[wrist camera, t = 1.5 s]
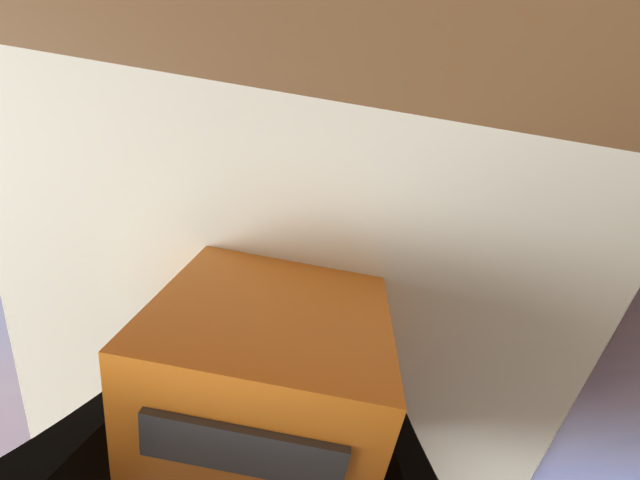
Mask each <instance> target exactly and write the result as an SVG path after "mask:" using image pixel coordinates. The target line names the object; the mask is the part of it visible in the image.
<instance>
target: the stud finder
mask: <svg viewBox="0 0 640 480" xmlns="http://www.w3.org/2000/svg"><path fill="white" fill-rule="evenodd" d="M98 355H99V365H100V376H101V386H102V396H103V406H104V416H105V426H106V436H107V447H108V457H109V467H110V477H111V480H384V478H385V475H386V472H387V469H388V466H389V463H390V460H391V457H392V454H393V451H394V448H395V445H396V442H397V439H398V436H399V433H400V430H401V427H402V424H403V421H404V418H405V415H406V412H407V407H406V401H405V396H404V390H403V384H402V379H401V373H400V367H399V361H398V356H397V350H396V344H395V339H394V333H393V327H392V322H391V316H390V310H389V305H388V299H387V293H386V288H385V282H384V278H382V277H377V276H371V275H366V274H360V273H355V272H349V271H343V270H338V269H332V268H327V267H321V266H316V265H310V264H305V263H299V262H294V261H288V260H283V259H277V258H271V257H266V256H260V255H255V254H249V253H244V252H238V251H233V250H227V249H222V248H216V247H211V246H205V247H204V248H203V249H202V250H201V251H200V252H199V253H198V254H197V255H196V256H195V257H194V258H193V259H192V260H191V261H190V262H189V263H188V264H187V265H186V266H185V267H184V268H183V269H182V270H181V271H180V272H179V273H178V274H177V275H176V276H175V277H174V278H173V279H172V280H171V281H170V282H169V283H168V284H167V285H166V286H165V287H164V288H163V289H162V290H161V291H160V292H159V293H158V294H157V295H156V296H155V297H154V298H153V299H152V300H151V301H149V302H148V303H147V304H146V305H145V306H144V307H143V308H142V309H141V310H140V311H139V312H138V313H137V314H136V315H135V316H134V317H133V318H132V319H131V320H130V321H129V322H128V323H127V324H126V325H125V326H124V327H123V328H122V329H121V330H120V331H119V332H118V333H117V334H116V335H115V336H114V337H113V338H112V339H111V340H110V341H109V342H108V343H107V344H106V345H105V346H104V347H103V348H102V349H101V350H100V351H99V352H98Z"/></svg>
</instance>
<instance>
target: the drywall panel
mask: <svg viewBox="0 0 640 480" xmlns="http://www.w3.org/2000/svg"><path fill="white" fill-rule="evenodd" d="M205 246H211V247H216V248H222V249H227V250H233V251H238V252H244V253H249V254H255V255H260V256H266V257H271V258H277V259H283V260H288V261H294V262H299V263H305V264H310V265H316V266H321V267H327V268H332V269H338V270H343V271H349V272H355V273H360V274H366V275H371V276H377V277H382V278H384V282H385V288H386V293H387V299H388V305H389V310H390V316H391V322H392V327H393V333H394V339H395V344H396V350H397V356H398V361H399V367H400V373H401V379H402V384H403V390H404V396H405V401H406V407H407V412H406V413H407V415H408V417H409V420H410V422H411V424H412V426H413V428H414V431H415V433H416V435H417V437H418V439H419V441H420V444H421V446H422V448H423V450H424V452H425V454H426V456H427V458H428V460H429V462H430V464H431V466H432V468H433V470H434V472H435V474H436V475H437V477H438V479H439V480H530V479H531V478H532V476H533V474H534V472H535V471H536V469H537V467H538V465H539V464H540V462H541V460H542V458H543V457H544V455H545V453H546V451H547V450H548V448H549V446H550V444H551V443H552V441H553V439H554V437H555V436H556V434H557V432H558V430H559V428H560V427H561V425H562V423H563V421H564V420H565V418H566V416H567V414H568V413H569V411H570V409H571V407H572V406H573V404H574V402H575V400H576V399H577V397H578V395H579V393H580V392H581V390H582V388H583V386H584V385H585V383H586V381H587V379H588V377H589V376H590V374H591V372H592V370H593V369H594V367H595V365H596V363H597V362H598V360H599V358H600V356H601V355H602V353H603V351H604V349H605V348H606V346H607V344H608V342H609V341H610V339H611V337H612V335H613V334H614V332H615V330H616V328H617V326H618V325H619V323H620V321H621V319H622V318H623V316H624V314H625V312H626V311H627V309H628V307H629V305H630V304H631V302H632V300H633V298H634V297H635V295H636V293H637V291H638V290H639V288H640V0H0V295H1V300H2V305H3V309H4V314H5V319H6V323H7V328H8V333H9V338H10V342H11V347H12V352H13V356H14V361H15V366H16V371H17V375H18V380H19V385H20V390H21V394H22V399H23V404H24V408H25V413H26V418H27V423H28V427H29V432H30V437H31V439H32V438H33V437H35V436H37V435H38V434H40V433H41V432H43V431H44V430H46V429H47V428H49V427H51V426H52V425H54V424H55V423H57V422H58V421H60V420H61V419H63V418H64V417H66V416H67V415H69V414H70V413H72V412H73V411H75V410H76V409H78V408H79V407H81V406H82V405H83V404H85V403H86V402H88V401H89V400H91V399H92V398H94V397H95V396H96V395H98V394H99V393H101V392H102V386H101V376H100V365H99V355H98V352H99V351H100V350H101V349H102V348H103V347H104V346H105V345H106V344H107V343H108V342H109V341H110V340H111V339H112V338H113V337H114V336H115V335H116V334H117V333H118V332H119V331H120V330H121V329H122V328H123V327H124V326H125V325H126V324H127V323H128V322H129V321H130V320H131V319H132V318H133V317H134V316H135V315H136V314H137V313H138V312H139V311H140V310H141V309H142V308H143V307H144V306H145V305H146V304H147V303H148V302H149V301H151V300H152V299H153V298H154V297H155V296H156V295H157V294H158V293H159V292H160V291H161V290H162V289H163V288H164V287H165V286H166V285H167V284H168V283H169V282H170V281H171V280H172V279H173V278H174V277H175V276H176V275H177V274H178V273H179V272H180V271H181V270H182V269H183V268H184V267H185V266H186V265H187V264H188V263H189V262H190V261H191V260H192V259H193V258H194V257H195V256H196V255H197V254H198V253H199V252H200V251H201V250H202V249H203V248H204V247H205Z"/></svg>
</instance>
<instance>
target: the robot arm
mask: <svg viewBox="0 0 640 480" xmlns="http://www.w3.org/2000/svg"><path fill="white" fill-rule="evenodd" d="M0 480H111V477H110V467H109V457H108V447H107V436H106V426H105V416H104V406H103V396H102V392H101V393H99V394H98V395H96V396H95V397H94V398H92V399H91V400H89V401H88V402H86V403H85V404H83V405H82V406H81V407H79V408H78V409H76V410H75V411H73V412H72V413H70V414H69V415H67V416H66V417H64V418H63V419H61V420H60V421H58V422H57V423H55V424H54V425H52V426H51V427H49V428H47V429H46V430H44V431H43V432H41V433H40V434H38V435H37V436H35V437H33V438H32V439H30V440H29V441H27V442H26V443H24V444H22V445H21V446H19V447H17V448H16V449H14V450H12V451H11V452H9V453H7V454H6V455H4V456H2V457H1V458H0ZM384 480H439V479H438V477H437V475H436V474H435V472H434V470H433V468H432V466H431V464H430V462H429V460H428V458H427V456H426V454H425V452H424V450H423V448H422V446H421V444H420V441H419V439H418V437H417V435H416V433H415V431H414V428H413V426H412V424H411V422H410V420H409V417H408V415H407V413H406V415H405V418H404V421H403V424H402V427H401V430H400V433H399V436H398V439H397V442H396V445H395V448H394V451H393V454H392V457H391V460H390V463H389V466H388V469H387V472H386V475H385V478H384Z"/></svg>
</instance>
